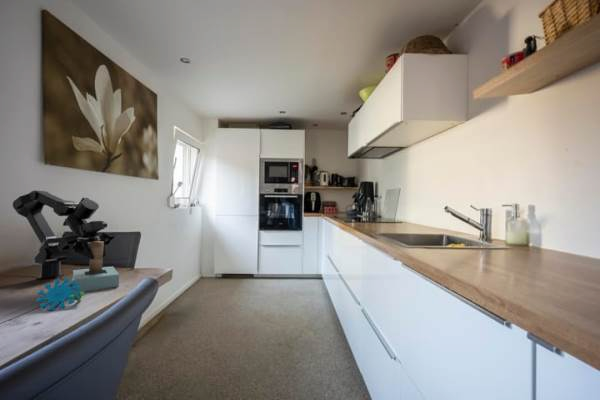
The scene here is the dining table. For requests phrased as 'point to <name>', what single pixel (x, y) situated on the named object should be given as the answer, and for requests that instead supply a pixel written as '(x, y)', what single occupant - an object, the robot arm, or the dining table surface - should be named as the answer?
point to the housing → (96, 279)
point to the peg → (96, 257)
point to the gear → (60, 294)
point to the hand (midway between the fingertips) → (99, 257)
